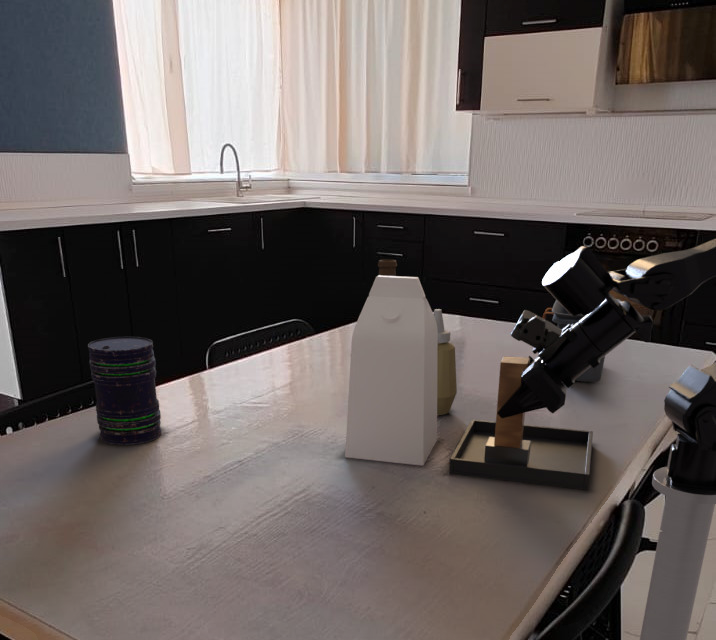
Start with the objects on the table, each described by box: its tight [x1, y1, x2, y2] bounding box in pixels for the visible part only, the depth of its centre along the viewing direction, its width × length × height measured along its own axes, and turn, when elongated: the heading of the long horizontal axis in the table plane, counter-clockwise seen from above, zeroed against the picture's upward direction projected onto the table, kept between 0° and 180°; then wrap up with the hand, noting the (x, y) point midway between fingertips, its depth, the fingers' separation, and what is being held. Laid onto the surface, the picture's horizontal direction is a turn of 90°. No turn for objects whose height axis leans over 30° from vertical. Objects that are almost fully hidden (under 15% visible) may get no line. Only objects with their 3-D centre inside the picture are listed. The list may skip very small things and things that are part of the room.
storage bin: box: [542, 298, 622, 383], centre depth 161 cm, size 21×16×14 cm
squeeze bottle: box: [433, 308, 458, 416], centre depth 134 cm, size 8×8×18 cm
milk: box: [344, 274, 438, 466], centre depth 115 cm, size 12×12×26 cm
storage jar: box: [87, 336, 163, 446], centre depth 122 cm, size 10×10×15 cm
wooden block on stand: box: [484, 355, 531, 466], centre depth 108 cm, size 6×4×15 cm, turn 73°
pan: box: [448, 419, 594, 491], centre depth 116 cm, size 19×19×2 cm
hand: (501, 411), depth 108 cm, fingers closed on wooden block on stand, 3 cm apart
